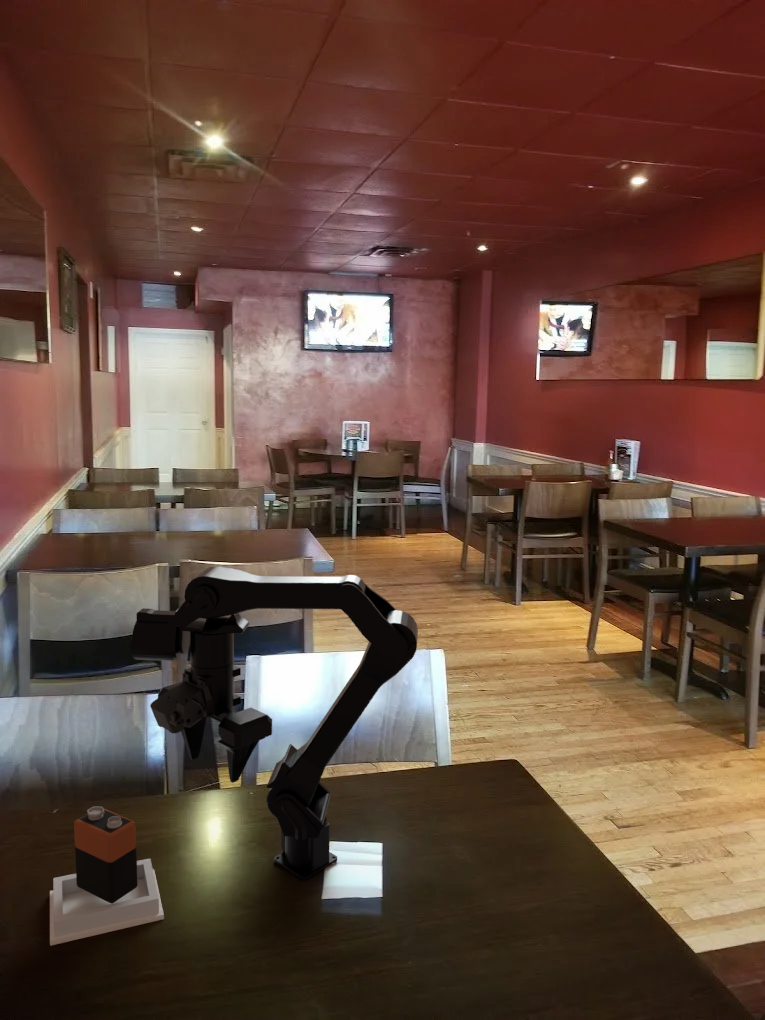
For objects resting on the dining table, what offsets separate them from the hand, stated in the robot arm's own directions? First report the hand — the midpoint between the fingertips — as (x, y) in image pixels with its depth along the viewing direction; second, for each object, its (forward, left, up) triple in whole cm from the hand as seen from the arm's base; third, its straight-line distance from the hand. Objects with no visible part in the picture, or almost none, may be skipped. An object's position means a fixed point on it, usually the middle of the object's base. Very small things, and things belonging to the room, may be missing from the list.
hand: (214, 769), depth 109 cm
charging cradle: (+1, +16, -13) cm, 21 cm away
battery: (+1, +16, -11) cm, 19 cm away
